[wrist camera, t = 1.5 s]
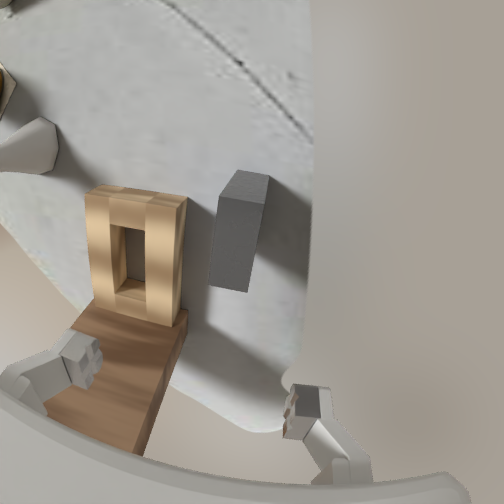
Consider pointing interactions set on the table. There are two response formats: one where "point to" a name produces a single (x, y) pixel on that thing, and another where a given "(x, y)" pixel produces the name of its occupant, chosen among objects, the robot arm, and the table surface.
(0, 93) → the condiment
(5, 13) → the table surface
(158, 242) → the tan slotted wooden fixture
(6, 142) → the flask
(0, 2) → the ceramic sculpture
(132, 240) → the table surface
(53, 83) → the table surface
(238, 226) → the brushed steel bar
